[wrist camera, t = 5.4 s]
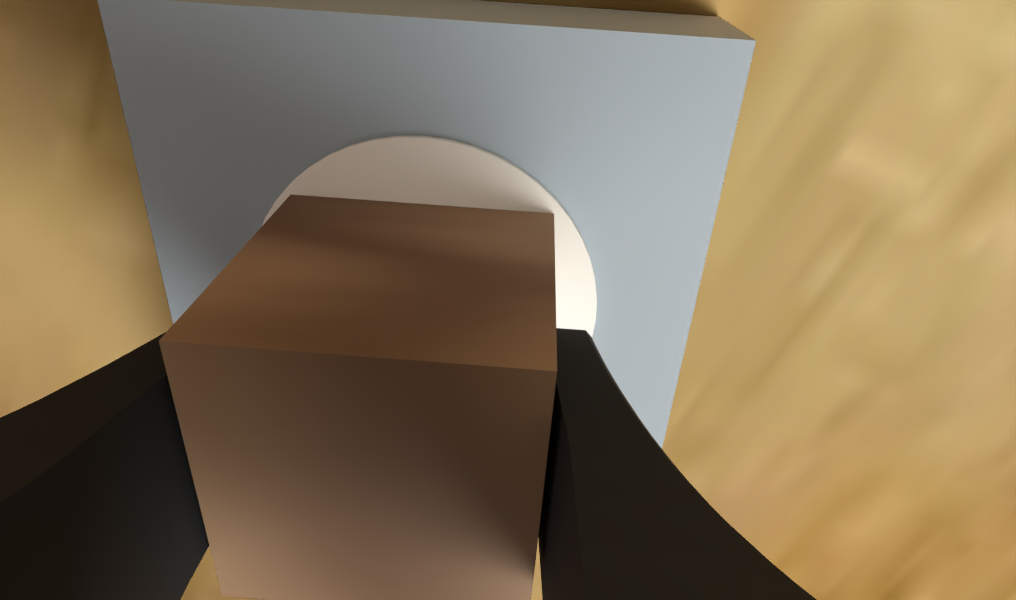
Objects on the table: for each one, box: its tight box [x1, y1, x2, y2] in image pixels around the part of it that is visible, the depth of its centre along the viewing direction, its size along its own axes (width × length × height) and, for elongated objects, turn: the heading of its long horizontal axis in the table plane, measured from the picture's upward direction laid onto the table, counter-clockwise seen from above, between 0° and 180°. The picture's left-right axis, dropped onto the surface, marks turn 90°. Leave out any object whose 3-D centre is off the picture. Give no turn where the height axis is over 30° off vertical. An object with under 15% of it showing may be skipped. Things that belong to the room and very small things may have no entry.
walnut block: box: [159, 194, 557, 600], centre depth 11 cm, size 4×4×4 cm
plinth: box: [97, 0, 756, 448], centre depth 14 cm, size 10×10×3 cm
